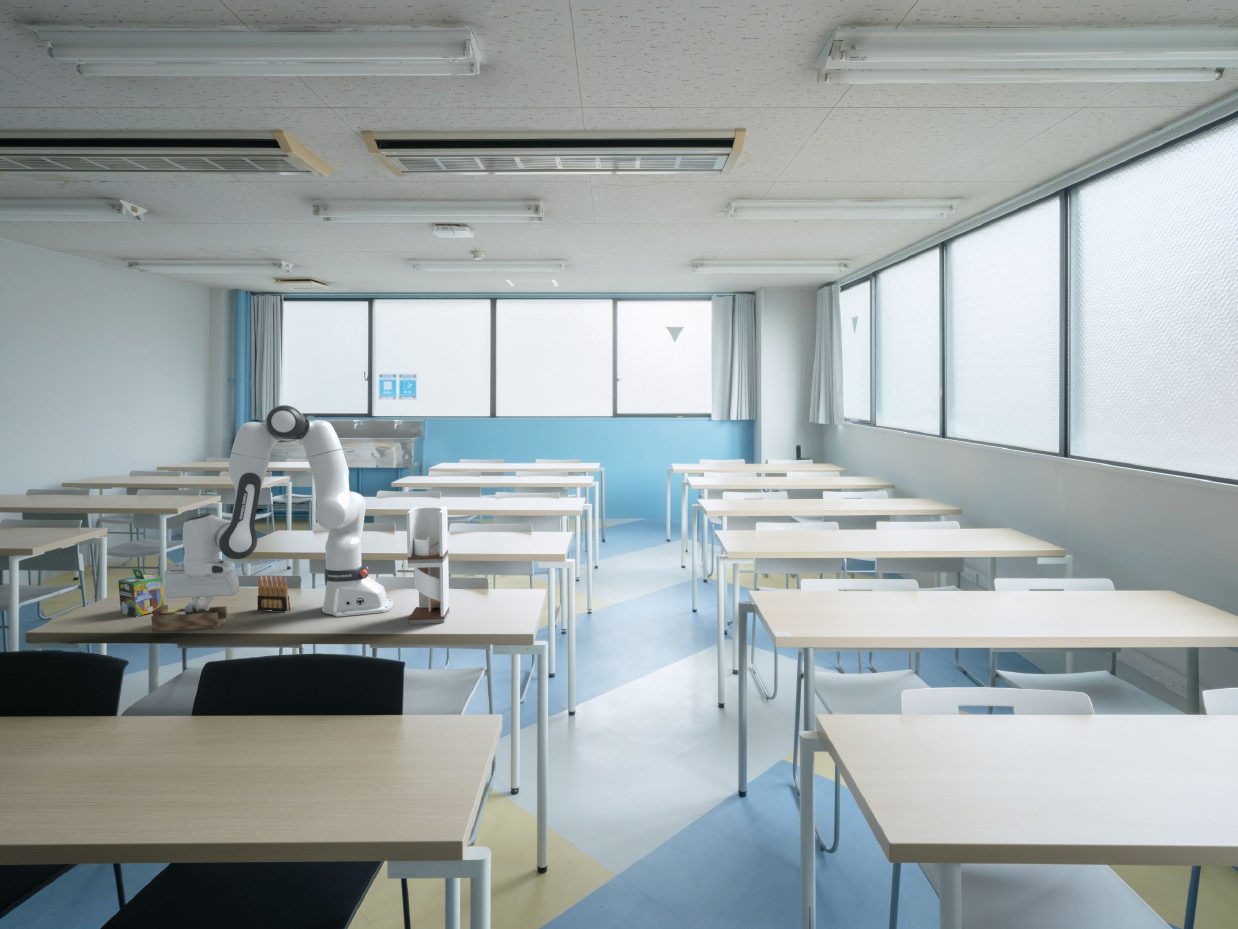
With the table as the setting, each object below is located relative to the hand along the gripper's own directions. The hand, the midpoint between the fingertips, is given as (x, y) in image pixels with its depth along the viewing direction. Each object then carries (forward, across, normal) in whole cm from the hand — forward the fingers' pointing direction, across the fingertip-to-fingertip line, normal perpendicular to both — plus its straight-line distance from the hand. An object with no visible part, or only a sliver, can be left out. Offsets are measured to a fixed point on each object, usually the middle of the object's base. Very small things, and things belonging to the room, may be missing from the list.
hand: (203, 610), depth 210 cm
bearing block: (+4, -4, 0) cm, 6 cm away
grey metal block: (+3, -5, 0) cm, 6 cm away
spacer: (+4, -9, 0) cm, 10 cm away
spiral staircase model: (+5, +68, -4) cm, 69 cm away
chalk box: (+5, -26, +18) cm, 32 cm away
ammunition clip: (+5, +16, +13) cm, 21 cm away
